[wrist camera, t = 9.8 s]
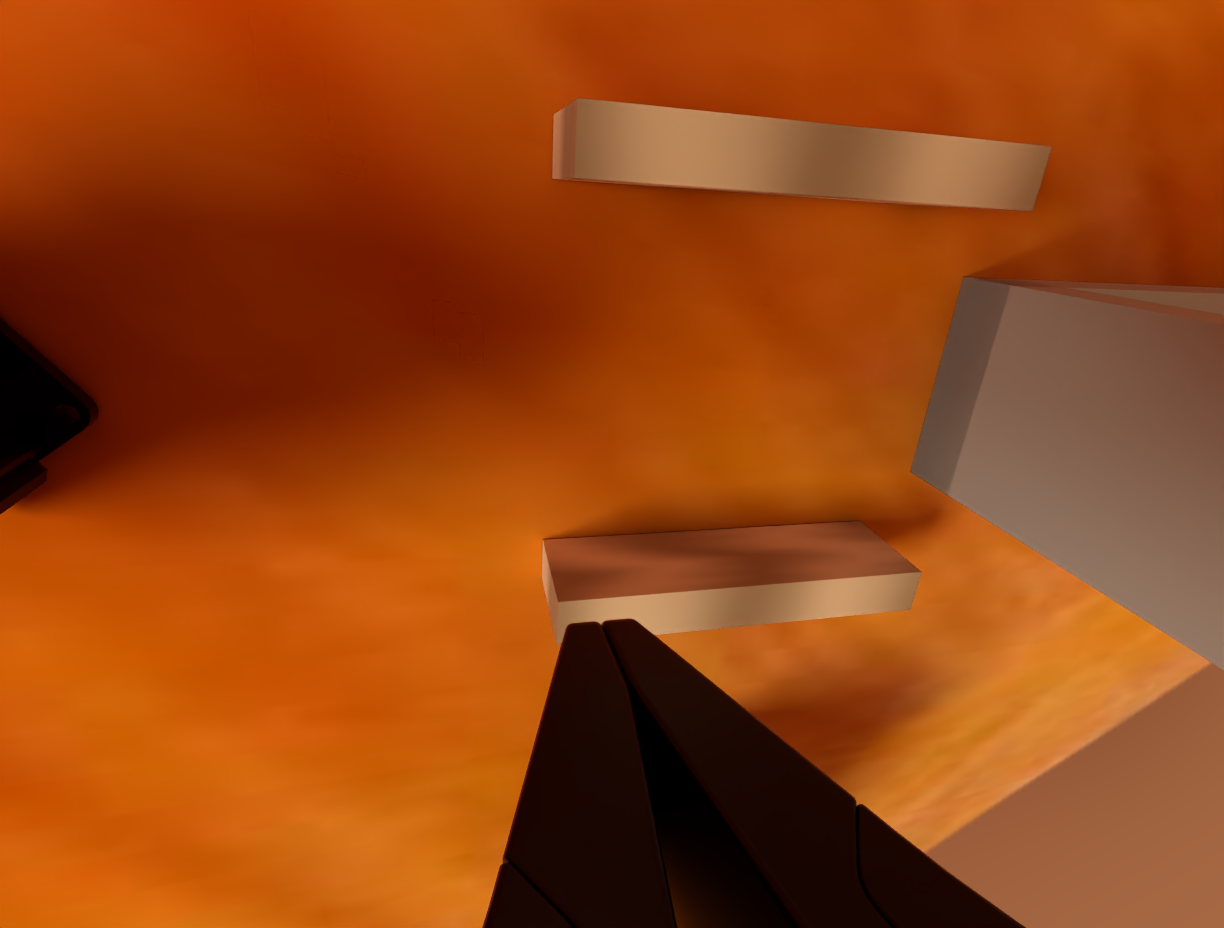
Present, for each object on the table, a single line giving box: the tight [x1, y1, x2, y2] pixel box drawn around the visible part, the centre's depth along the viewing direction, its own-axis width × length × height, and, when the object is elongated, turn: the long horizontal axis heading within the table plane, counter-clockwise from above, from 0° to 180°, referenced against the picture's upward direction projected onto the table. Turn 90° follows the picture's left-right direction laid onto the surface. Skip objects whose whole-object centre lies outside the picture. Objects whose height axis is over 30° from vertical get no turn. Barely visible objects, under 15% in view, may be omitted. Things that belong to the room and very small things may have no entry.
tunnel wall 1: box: [542, 521, 922, 644], centre depth 21 cm, size 12×2×4 cm, turn 86°
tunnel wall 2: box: [552, 98, 1052, 211], centre depth 16 cm, size 12×2×4 cm, turn 86°
